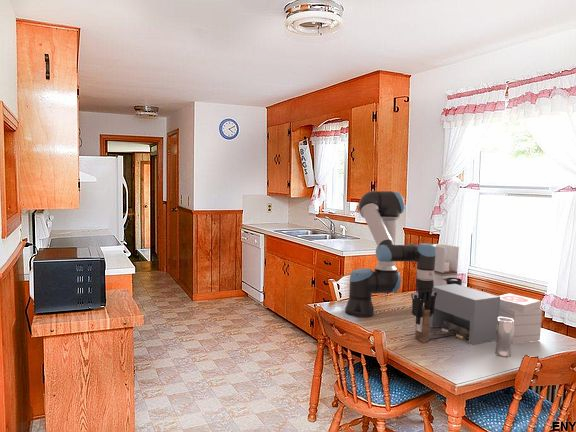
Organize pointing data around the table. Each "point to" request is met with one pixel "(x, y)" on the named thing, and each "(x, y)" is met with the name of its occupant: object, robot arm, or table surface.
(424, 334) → the brown upright bracket
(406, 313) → the table surface
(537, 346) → the table surface
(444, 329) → the steel token
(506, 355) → the beer glass
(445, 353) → the table surface
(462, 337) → the brass token
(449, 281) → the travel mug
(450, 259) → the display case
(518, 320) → the stacked pizza boxes
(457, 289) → the grey cabinet
